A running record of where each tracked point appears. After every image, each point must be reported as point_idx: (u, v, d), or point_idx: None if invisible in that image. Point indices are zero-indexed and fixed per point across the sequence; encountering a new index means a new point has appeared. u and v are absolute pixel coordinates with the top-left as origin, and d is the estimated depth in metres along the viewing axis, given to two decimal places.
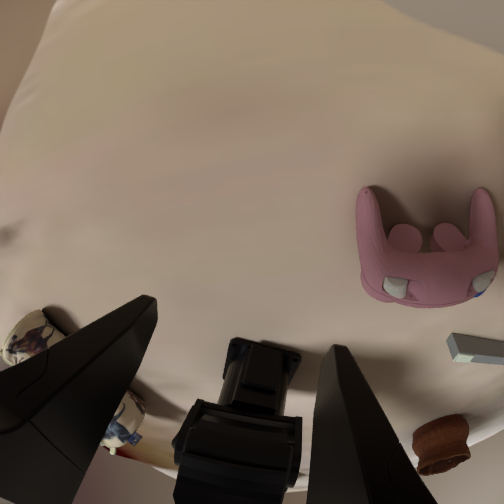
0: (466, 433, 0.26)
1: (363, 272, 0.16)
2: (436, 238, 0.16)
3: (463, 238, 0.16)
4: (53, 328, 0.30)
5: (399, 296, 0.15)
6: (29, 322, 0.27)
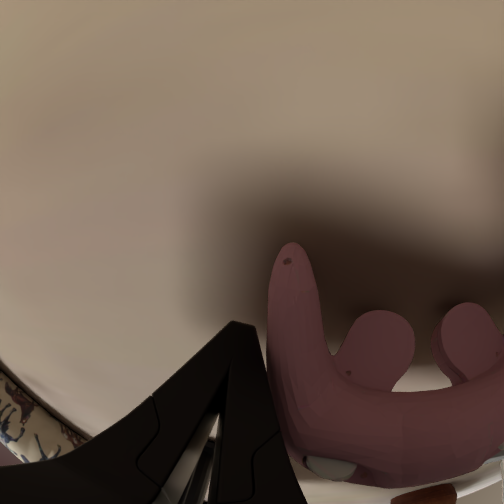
0: None
1: None
2: (444, 342, 0.07)
3: (496, 335, 0.07)
4: None
5: (337, 479, 0.06)
6: None
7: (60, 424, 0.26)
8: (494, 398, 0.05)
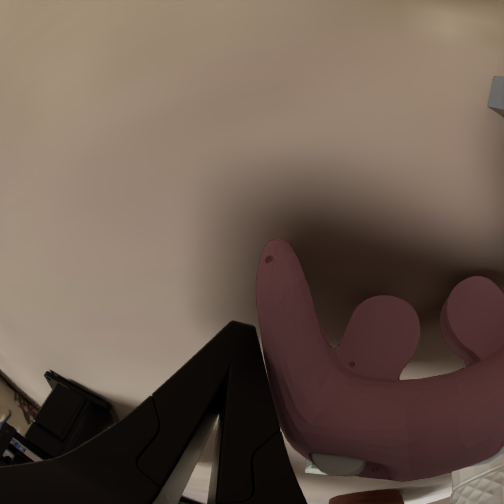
0: None
1: None
2: (451, 322, 0.07)
3: None
4: None
5: (348, 474, 0.06)
6: None
7: (14, 393, 0.27)
8: None
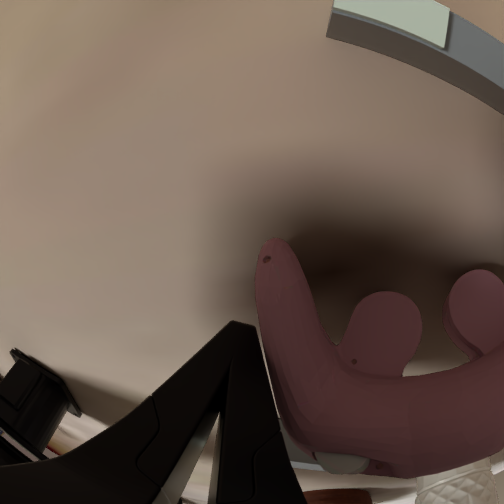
0: None
1: None
2: (453, 316, 0.07)
3: None
4: None
5: (352, 472, 0.06)
6: None
7: None
8: None
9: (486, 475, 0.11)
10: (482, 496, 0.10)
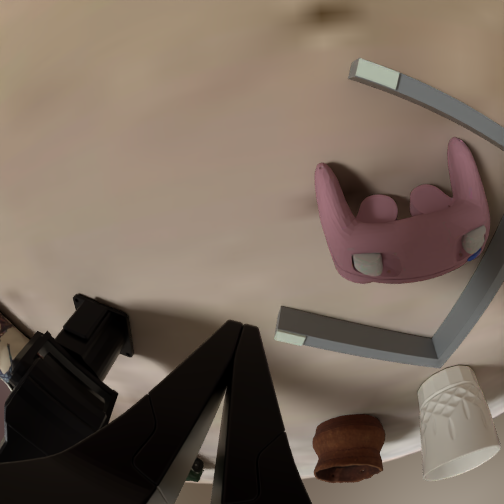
0: (377, 439, 0.26)
1: (332, 254, 0.15)
2: (413, 203, 0.15)
3: (446, 197, 0.14)
4: None
5: (374, 274, 0.13)
6: None
7: None
8: (443, 213, 0.12)
9: (475, 387, 0.20)
10: (474, 402, 0.18)
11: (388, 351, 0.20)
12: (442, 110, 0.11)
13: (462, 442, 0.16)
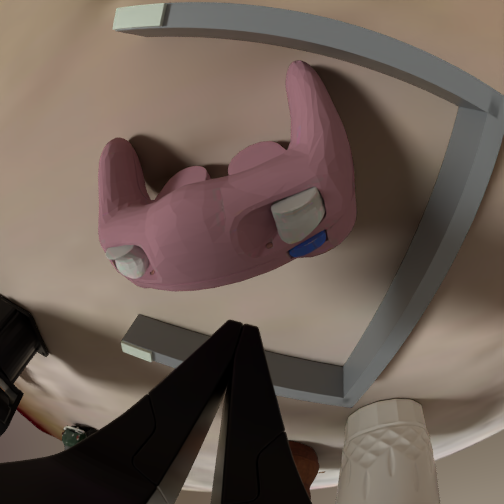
0: (302, 471, 0.22)
1: None
2: (229, 171, 0.11)
3: None
4: None
5: (133, 275, 0.10)
6: None
7: None
8: (231, 175, 0.08)
9: (415, 431, 0.16)
10: (407, 452, 0.14)
11: None
12: (241, 29, 0.07)
13: None
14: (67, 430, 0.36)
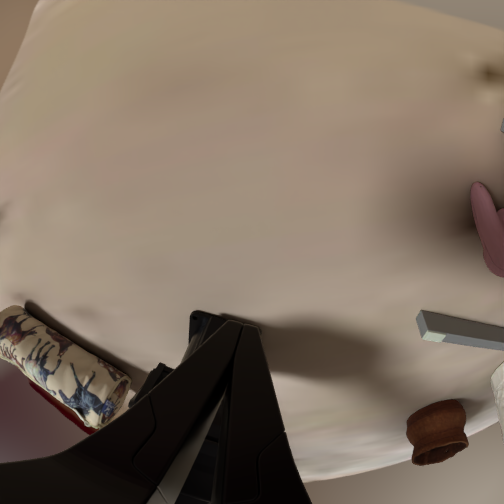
0: (463, 420, 0.26)
1: (490, 256, 0.15)
2: None
3: None
4: (30, 316, 0.32)
5: None
6: (6, 312, 0.30)
7: (98, 358, 0.34)
8: None
9: None
10: None
11: (493, 340, 0.20)
12: None
13: None
14: None
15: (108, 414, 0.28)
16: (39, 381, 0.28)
